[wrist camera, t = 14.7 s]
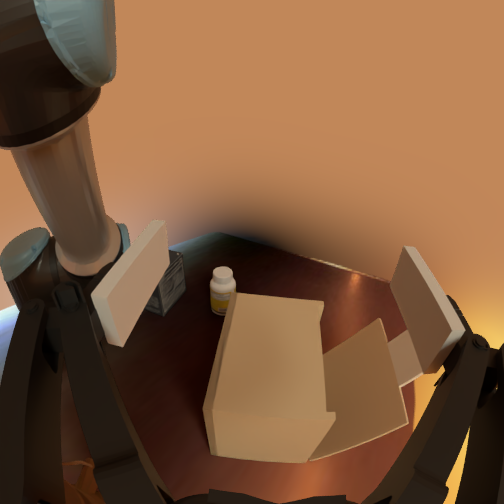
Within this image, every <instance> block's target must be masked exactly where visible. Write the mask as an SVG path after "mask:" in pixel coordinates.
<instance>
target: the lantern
mask: <svg viewBox="0 0 504 504" xmlns="http://www.w3.org/2000/svg"><path fill="white" fill-rule="evenodd" d="M76 464H83V468H82V471H81V474H80V476H79V478H78V480H77V483H76V485H74V484H70V483H69V482H67V481H66V480H64V479H63V480H64V488H65V500H66V504H105V502H104V499H103V497H102V495H101V493H99V492H98V491H96V489H97V487H98V486H97V484H96V481H95V478H94V475H93V469H94V462H93V459H92V458H87V459H86V460H85V462H83V461H82V460H81V461H73V462H62V465H76Z"/></svg>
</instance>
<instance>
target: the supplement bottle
mask: <svg viewBox="0 0 504 504" xmlns="http://www.w3.org/2000/svg"><path fill="white" fill-rule="evenodd" d="M231 292H234V293H236V282H235V280H234V279H233V272H232V270H231V269H230V268H228V267H218V268H216V269H214V271H213V278H212V280H211V282H210V295H211V309H212V311H213V312H214V313H216V314H218V315H226V312H227V308H228V304H229V300H230V296H231Z"/></svg>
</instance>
